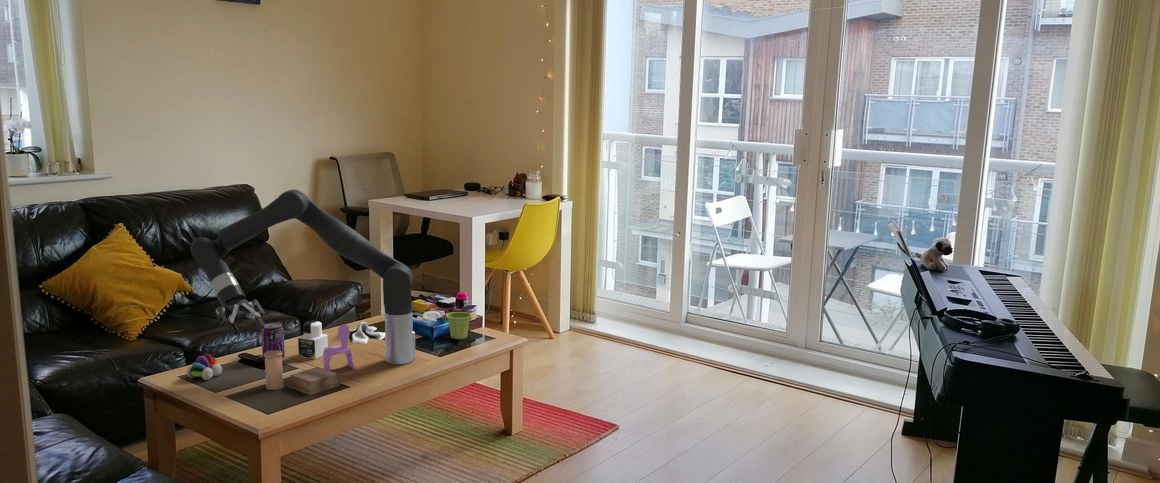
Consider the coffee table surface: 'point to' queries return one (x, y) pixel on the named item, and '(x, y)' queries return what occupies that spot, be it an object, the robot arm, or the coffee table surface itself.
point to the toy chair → (339, 348)
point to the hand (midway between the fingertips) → (250, 331)
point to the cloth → (364, 333)
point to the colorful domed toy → (204, 367)
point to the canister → (273, 369)
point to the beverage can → (273, 338)
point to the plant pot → (458, 324)
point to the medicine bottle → (312, 340)
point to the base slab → (314, 380)
